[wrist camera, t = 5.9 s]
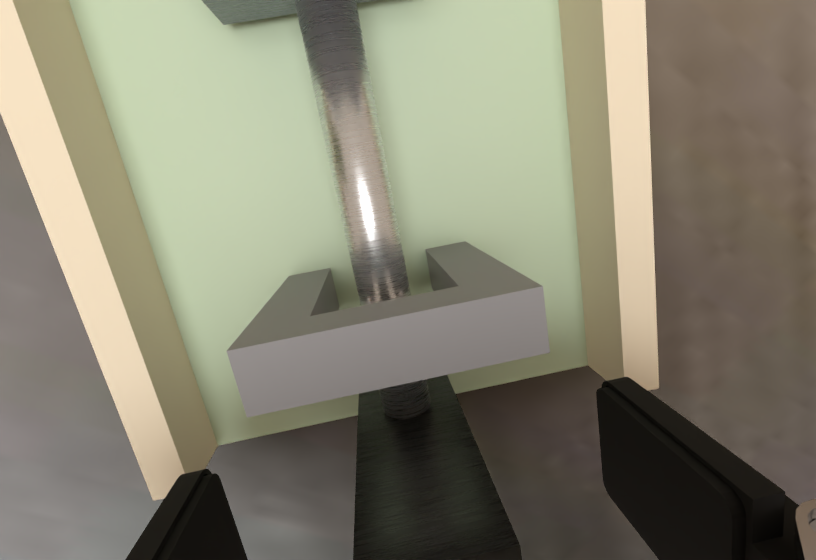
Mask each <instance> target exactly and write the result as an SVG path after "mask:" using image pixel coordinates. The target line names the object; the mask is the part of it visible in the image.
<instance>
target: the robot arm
mask: <svg viewBox="0 0 816 560" xmlns="http://www.w3.org/2000/svg"><path fill="white" fill-rule="evenodd" d="M597 408H598V421H599V434H600V447H601V460H602V473H603V482H604V486H605V488H606V491H607V492H608V494H609V496H610V497H611V499H612V500H613V501H614V502H615V504H616V505H617V506H618V508H619V509H620V510H621V511H622V513H623V514H624V515H625V517H626V518H627V519H628V520H629V522H630V523H631V524H632V526H633V527H634V528H635V529H636V531H637V532H638V533H639V534H640V536H641V537H642V538H643V540H644V541H645V542H646V543H647V545H648V546H649V547H650V549H651V550H652V551H653V552H654V554H655V555H656V556H657V558H658V559H659V560H816V499H812V500H809V501H806V502H803V503H801V505H800V506H799V505H798V504H796V503H795V502H794V501H792V500H791V499H790V498H788V497H787V496H786V495H785V491H783V490H782V489H781V488H779V487H778V486H777V485H775V484H774V483H772V482H771V481H770V480H768V479H767V478H766V477H764V476H763V475H762V474H760V473H759V472H758V471H756V470H755V469H753V468H752V467H751V466H749V465H748V464H747V463H745V462H744V461H743V460H741V459H740V458H738V457H737V456H736V455H734V454H733V453H732V452H730V451H729V450H728V449H726V448H725V447H723V446H722V445H721V444H719V443H718V442H717V441H715V440H714V439H713V438H711V437H710V436H708V435H707V434H706V433H704V432H703V431H702V430H700V429H699V428H698V427H696V426H695V425H694V424H692V423H691V422H689V421H688V420H687V419H685V418H684V417H683V416H681V415H680V414H679V413H677V412H676V411H674V410H673V409H672V408H670V407H669V406H668V405H666V404H665V403H664V402H662V401H661V400H659V399H658V398H657V397H655V396H654V395H653V394H651V393H650V392H649V391H647V390H646V389H644V388H643V387H642V386H640V385H639V384H638V383H636V382H635V381H634V380H632V379H631V378H629V377H622V378H618V379H613V380H608V381H604V382H603V384H602V388H600V389H598V390H597ZM126 560H248V559H247V556H246V553H245V550H244V548H243V545H242V542H241V539H240V536H239V533H238V530H237V527H236V524H235V521H234V518H233V515H232V512H231V510H230V507H229V504H228V501H227V498H226V495H225V492H224V489H223V486H222V483H221V480H220V478H219V476H218V475H217V474H212V473H211V472H210V471H209V470H208V469H203V470H199V471H194V472H190V473H185V474H182V475H180V476H179V477H178V478H177V480H176V481H175V483H174V485H173V486H172V488H171V489H170V491H169V492H168V494H167V495H166V497H165V499H164V500H163V502H162V503H161V505H160V506H159V508H158V510H157V511H156V513H155V514H154V516H153V517H152V519H151V521H150V522H149V524H148V525H147V527H146V528H145V530H144V532H143V533H142V535H141V536H140V538H139V539H138V541H137V542H136V544H135V546H134V547H133V549H132V550H131V552H130V553H129V555H128V557H127V558H126Z"/></svg>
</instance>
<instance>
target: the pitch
mask: <svg viewBox="0 0 816 560" xmlns="http://www.w3.org/2000/svg"><path fill="white" fill-rule="evenodd" d="M357 8H358V14H359V19H360V24H361V30H362V35H363V41H364V46H365V51H366V57H367V62H368V67H369V73H370V78H371V84H372V89H373V94H374V100H375V105H376V110H377V116H378V121H379V127H380V132H381V137H382V143H383V148H384V153H385V159H386V164H387V170H388V175H389V180H390V186H391V191H392V196H393V202H394V207H395V212H396V218H397V223H398V229H399V234H400V239H401V245H402V250H403V255H404V261H405V266H406V272H407V277H408V282H409V288H410V293H411V296H407V297H402V298H398V299H393V300H388V301H383V302H378V303H373V304H368V305H363V306H361V304H360V300H359V295H358V291H357V286H356V282H355V277H354V272H353V268H352V263H351V259H350V254H349V250H348V245H347V240H346V236H345V231H344V227H343V222H342V217H341V213H340V208H339V204H338V199H337V195H336V190H335V185H334V181H333V176H332V172H331V167H330V162H329V158H328V153H327V149H326V144H325V140H324V135H323V130H322V126H321V121H320V117H319V112H318V108H317V103H316V98H315V94H314V89H313V85H312V80H311V75H310V71H309V66H308V62H307V57H306V53H305V48H304V43H303V39H302V34H301V30H300V25H299V20H298V16H297V13H295V14H289V15H283V16H277V17H270V18H264V19H258V20H252V21H246V22H240V23H233V24H227V25H223V24H222V23H221V22H220V20H219V19H218V18H217V17H216V16H215V15H214V14H213V13H212V11H211V10H210V9H209V8H208V7H207V6H206V5H205V4H204V3H203V1H202V0H0V113H1V115H2V118H3V120H4V123H5V125H6V128H7V130H8V133H9V136H10V138H11V141H12V143H13V146H14V148H15V151H16V153H17V156H18V158H19V161H20V163H21V166H22V169H23V171H24V174H25V176H26V179H27V181H28V184H29V186H30V189H31V191H32V194H33V196H34V199H35V202H36V204H37V207H38V209H39V212H40V214H41V217H42V219H43V222H44V224H45V227H46V230H47V232H48V235H49V237H50V240H51V242H52V245H53V247H54V250H55V252H56V255H57V257H58V260H59V263H60V265H61V268H62V270H63V273H64V275H65V278H66V280H67V283H68V285H69V288H70V290H71V293H72V296H73V298H74V301H75V303H76V306H77V308H78V311H79V313H80V316H81V318H82V321H83V324H84V326H85V329H86V331H87V334H88V336H89V339H90V341H91V344H92V346H93V349H94V351H95V354H96V357H97V359H98V362H99V364H100V367H101V369H102V372H103V374H104V377H105V379H106V382H107V384H108V387H109V390H110V392H111V395H112V397H113V400H114V402H115V405H116V407H117V410H118V412H119V415H120V418H121V420H122V423H123V425H124V428H125V430H126V433H127V435H128V438H129V440H130V443H131V445H132V448H133V451H134V453H135V456H136V458H137V461H138V463H139V466H140V468H141V471H142V473H143V476H144V478H145V481H146V484H147V486H148V489H149V491H150V494H151V496H152V499H153V501H154V500H159V499H163V498H165V497H166V495H167V494H168V492H169V491H170V489H171V488H172V486H173V485H174V483H175V481H176V480H177V478H178V477H179V476H180V475H182V474H185V473H190V472H194V471H199V470H203V469H205V468H206V466H207V464H208V462H209V461H210V459H211V457H212V455H213V454H214V452H215V450H216V448H217V446H218V445H223V444H228V443H232V442H237V441H241V440H246V439H251V438H255V437H260V436H264V435H269V434H274V433H278V432H283V431H288V430H292V429H297V428H301V427H306V426H311V425H315V424H320V423H324V422H329V421H334V420H338V419H343V418H347V417H352V416H357V415H358V401H359V393H364V392H369V391H373V390H378V389H383V388H387V387H392V386H397V385H401V384H406V383H411V382H415V381H420V380H425V379H429V378H434V377H439V376H443V375H447V376H448V378H449V380H450V383H451V385H452V388H453V390H454V392H455V394H458V393H463V392H467V391H472V390H476V389H481V388H486V387H490V386H495V385H499V384H504V383H509V382H513V381H518V380H522V379H527V378H532V377H536V376H541V375H546V374H550V373H555V372H559V371H564V370H569V369H573V368H578V367H582V366H587V365H588V366H589V367H591V368H592V369H593V370H594V371H595V372H597V373H598V374H599V375H600V376H602V377H603V378H604V379H605V380H607V381H608V380H613V379H618V378H622V377H629V378H631V379H632V380H634V381H635V382H636V383H638V384H639V385H640V386H642V387H643V388H644V389H646V390H647V391H649V390H653V389H658V388H659V371H658V344H657V316H656V288H655V261H654V233H653V205H652V178H651V150H650V123H649V95H648V67H647V40H646V12H645V0H375V1H369V2H363V3H357Z"/></svg>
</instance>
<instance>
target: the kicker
mask: <svg viewBox="0 0 816 560" xmlns="http://www.w3.org/2000/svg"><path fill="white" fill-rule="evenodd" d="M202 1H203V3H204V4H205V5H206V6H207V7H208V8H209V9H210V10H211V11H212V13H213V14H214V15H215V16H216V17H217V18H218V19H219V20H220V22H221V23H222V24H223V25H227V24H233V23H240V22H246V21H252V20H258V19H264V18H270V17H277V16H283V15H289V14H295V13H297V16H298V20H299V25H300V30H301V34H302V39H303V43H304V48H305V53H306V57H307V62H308V66H309V71H310V75H311V80H312V85H313V89H314V94H315V98H316V103H317V108H318V112H319V117H320V121H321V126H322V130H323V135H324V140H325V144H326V149H327V153H328V158H329V162H330V167H331V172H332V176H333V181H334V185H335V190H336V195H337V199H338V204H339V208H340V213H341V217H342V222H343V227H344V231H345V236H346V240H347V245H348V250H349V254H350V259H351V263H352V268H353V272H354V277H355V282H356V286H357V291H358V295H359V300H360V304H361V306H363V305H368V304H373V303H378V302H383V301H388V300H393V299H398V298H402V297H407V296H411V293H410V288H409V282H408V277H407V272H406V266H405V261H404V255H403V250H402V245H401V239H400V234H399V229H398V223H397V218H396V212H395V207H394V202H393V196H392V191H391V186H390V180H389V175H388V170H387V164H386V159H385V153H384V148H383V143H382V137H381V132H380V127H379V121H378V116H377V110H376V105H375V100H374V94H373V89H372V84H371V78H370V73H369V67H368V62H367V57H366V51H365V46H364V41H363V35H362V30H361V24H360V19H359V14H358V8H357V3H363V2H369V1H375V0H202ZM353 560H522V557H521V550H520V545H519V542H518V540H517V538H516V535H515V533H514V531H513V528H512V526H511V524H510V521H509V519H508V517H507V514H506V512H505V509H504V507H503V505H502V502H501V500H500V498H499V495H498V493H497V491H496V488H495V486H494V484H493V481H492V479H491V477H490V474H489V472H488V470H487V467H486V465H485V463H484V460H483V458H482V456H481V453H480V451H479V448H478V446H477V444H476V441H475V439H474V437H473V434H472V432H471V430H470V427H469V425H468V423H467V420H466V418H465V416H464V413H463V411H462V409H461V406H460V404H459V402H458V399H457V397H456V395H455V392H454V390H453V388H452V385H451V383H450V380H449V378H448V376H447V375H443V376H439V377H434V378H429V379H425V380H420V381H415V382H411V383H406V384H401V385H397V386H392V387H387V388H383V389H378V390H373V391H369V392H364V393H359V401H358V432H357V463H356V493H355V524H354V554H353Z"/></svg>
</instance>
